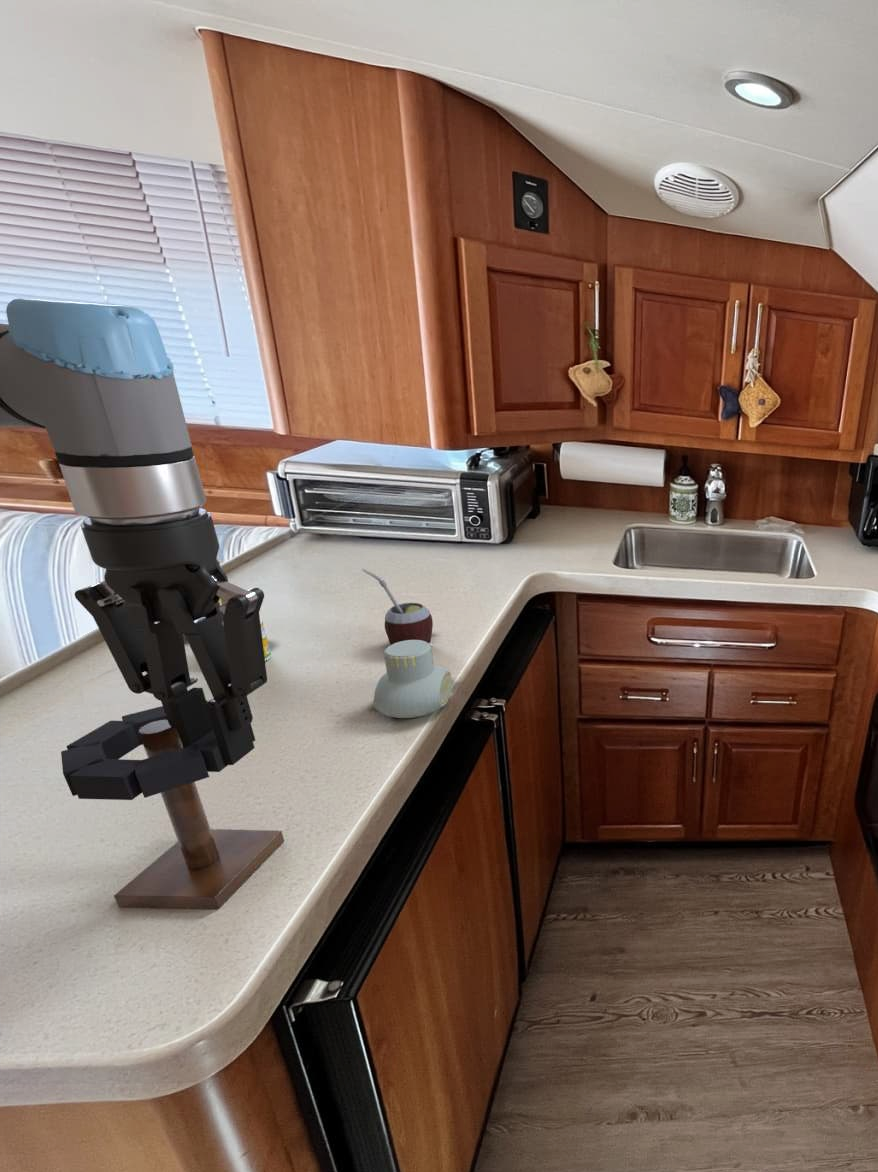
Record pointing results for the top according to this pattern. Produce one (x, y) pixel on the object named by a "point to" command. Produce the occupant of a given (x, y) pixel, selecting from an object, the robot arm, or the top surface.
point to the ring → (134, 761)
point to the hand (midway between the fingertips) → (222, 755)
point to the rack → (194, 847)
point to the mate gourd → (406, 619)
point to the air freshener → (411, 681)
